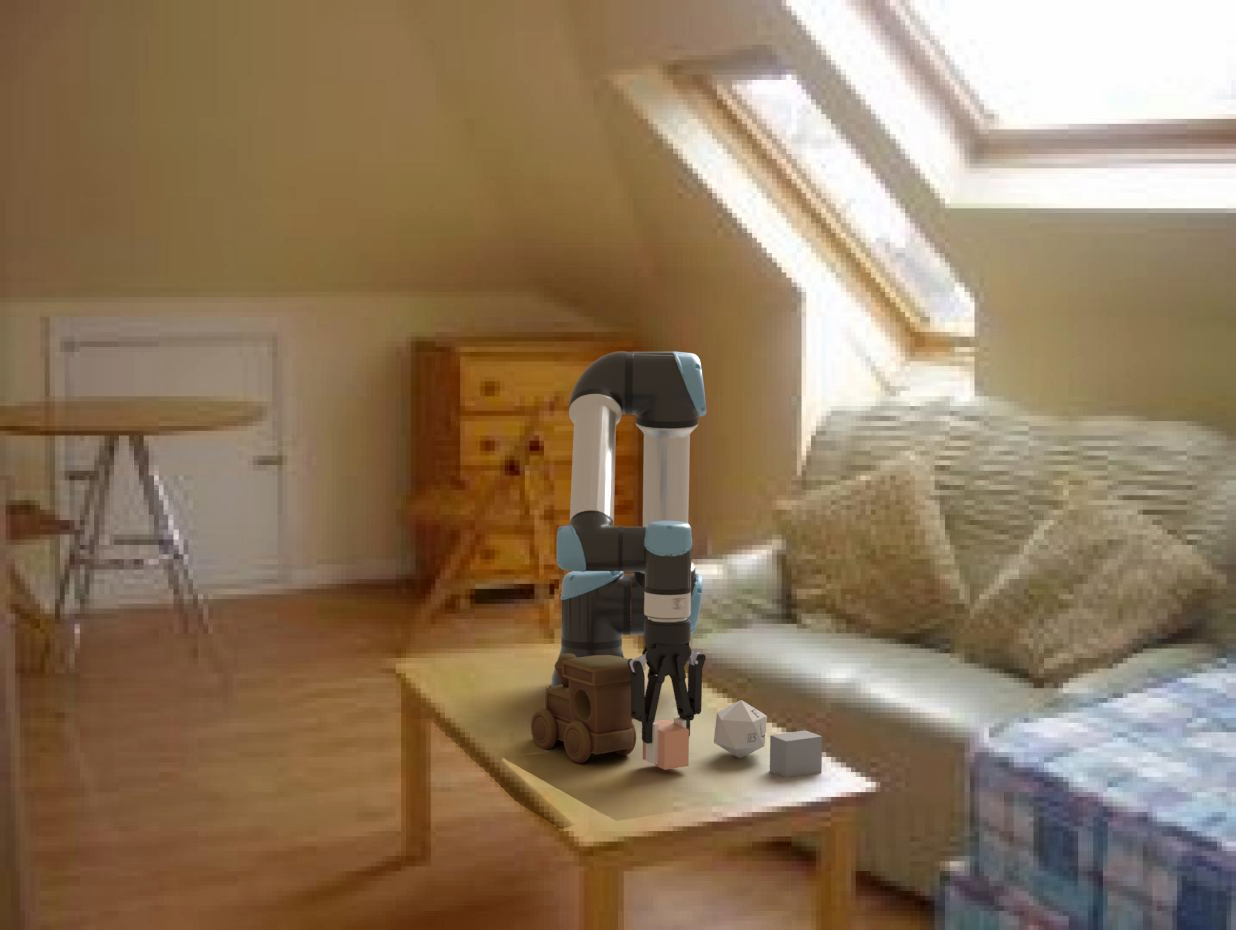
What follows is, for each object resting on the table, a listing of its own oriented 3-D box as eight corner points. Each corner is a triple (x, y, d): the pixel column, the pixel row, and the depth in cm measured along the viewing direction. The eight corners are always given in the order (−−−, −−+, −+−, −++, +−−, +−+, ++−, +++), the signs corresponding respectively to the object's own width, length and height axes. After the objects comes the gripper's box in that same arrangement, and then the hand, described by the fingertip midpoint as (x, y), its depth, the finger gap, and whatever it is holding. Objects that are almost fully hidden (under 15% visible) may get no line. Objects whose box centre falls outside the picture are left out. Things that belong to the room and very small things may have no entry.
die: (752, 768, 245) (753, 708, 245) (704, 760, 250) (705, 701, 250) (775, 757, 253) (776, 698, 252) (728, 749, 257) (728, 691, 257)
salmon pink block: (642, 758, 246) (643, 722, 245) (666, 755, 248) (666, 719, 247) (664, 769, 240) (664, 732, 239) (688, 766, 242) (689, 729, 241)
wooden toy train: (646, 761, 249) (647, 662, 248) (589, 771, 243) (590, 669, 242) (579, 736, 266) (580, 643, 265) (524, 745, 259) (525, 649, 258)
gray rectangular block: (769, 771, 244) (770, 735, 243) (805, 766, 247) (805, 730, 247) (785, 778, 240) (786, 741, 239) (821, 773, 243) (822, 736, 243)
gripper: (631, 626, 234) (629, 773, 236) (726, 617, 243) (724, 759, 245) (608, 618, 241) (607, 761, 243) (701, 609, 249) (699, 748, 251)
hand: (665, 760), depth 244 cm, fingers closed on salmon pink block, 4 cm apart
